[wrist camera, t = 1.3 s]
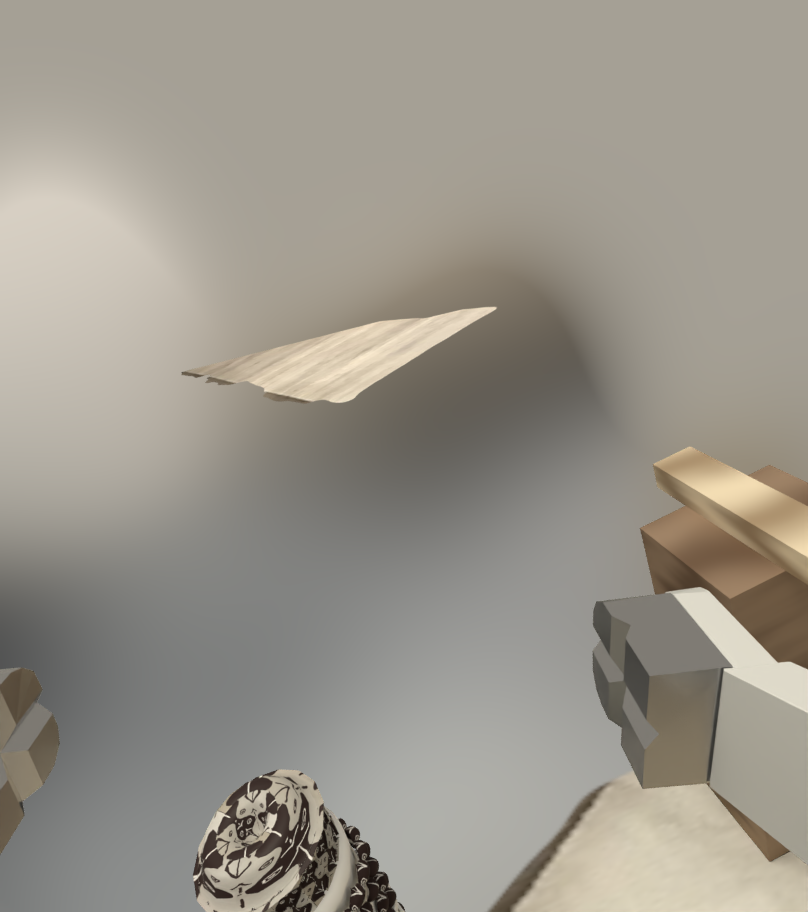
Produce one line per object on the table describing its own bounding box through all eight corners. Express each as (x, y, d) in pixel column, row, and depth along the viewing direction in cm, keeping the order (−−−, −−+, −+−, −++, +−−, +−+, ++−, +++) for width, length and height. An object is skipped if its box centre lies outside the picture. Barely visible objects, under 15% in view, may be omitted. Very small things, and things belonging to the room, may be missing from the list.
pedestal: (884, 799, 43) (886, 519, 31) (769, 861, 42) (730, 598, 31) (793, 717, 50) (769, 464, 39) (695, 769, 50) (640, 527, 38)
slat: (1006, 643, 24) (1010, 609, 23) (946, 675, 24) (948, 642, 23) (693, 469, 41) (689, 446, 40) (657, 487, 41) (652, 464, 40)
